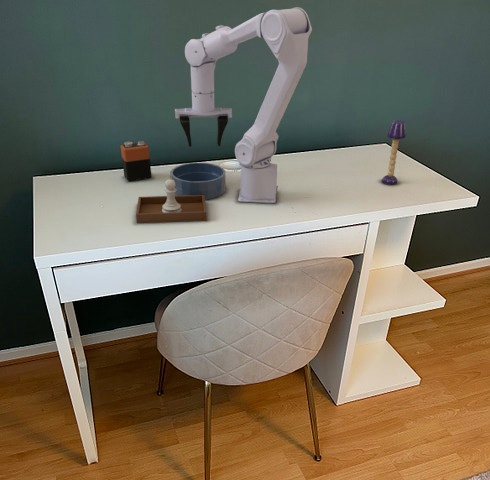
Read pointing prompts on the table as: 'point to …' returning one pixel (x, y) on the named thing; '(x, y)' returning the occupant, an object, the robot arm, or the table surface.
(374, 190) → the table surface
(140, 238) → the table surface
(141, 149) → the battery
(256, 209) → the table surface
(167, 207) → the chess piece
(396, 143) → the toy lamp
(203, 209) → the tray
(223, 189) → the bowl
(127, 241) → the table surface
